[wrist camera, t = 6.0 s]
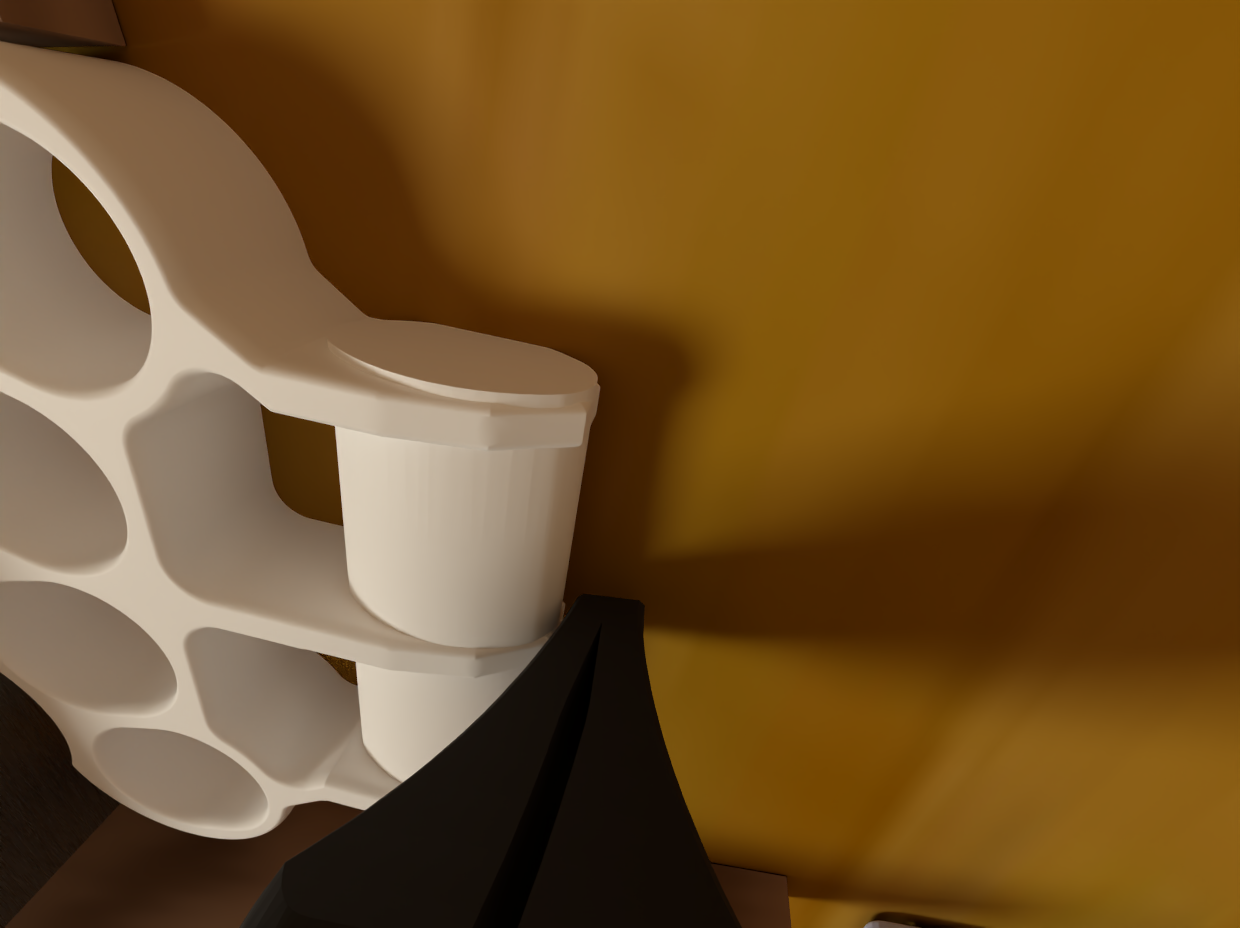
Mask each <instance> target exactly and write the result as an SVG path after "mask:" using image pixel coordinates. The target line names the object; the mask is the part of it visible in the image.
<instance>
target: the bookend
mask: <svg viewBox="0 0 1240 928" xmlns="http://www.w3.org/2000/svg"><path fill="white" fill-rule="evenodd" d="M119 805H120V802H118V801H117V800H115V799H114V798H112V797H110V796H109V795H107V794H106V793H105V792H103V791H102V790H100V789H99V788H98V787H96V786H95V785H94V784H93V783H91V782H90V781H89V780H88V779H87V778H85V777H84V776H83V775H82V774H81V773H80V772H79V771H78V770H77V769H76V768H75V767H74V766H73V765H72V756H71V752H70V748H69V746H68V743H67V741H66V739H65V737H64V736H63V734H62V732H61V731H60V729H59V728H58V726H57V725H56V724H55V722H54V721H53V720H52V719H51V717H50V716H49V715H48V714H47V713H46V712H45V711H44V710H43V708H42V707H41V706H40V705H39V704H38V703H37V702H36V701H35V700H34V699H33V698H31V697H30V696H29V695H28V694H27V693H26V692H25V691H24V690H22V689H21V688H20V687H19V686H18V685H16V684H15V683H14V682H13V681H11V680H10V679H9V678H7V677H6V676H5V675H3V674H2V673H1V672H0V928H4V927H5V926H6V925H7V924H8V923H9V922H10V921H11V920H12V919H13V918H14V917H15V915H16V914H17V913H18V912H19V911H20V910H21V909H22V908H23V907H24V906H25V905H26V904H27V903H28V902H29V901H30V899H31V898H32V897H33V896H34V895H35V894H36V893H37V892H38V891H39V890H40V889H41V888H42V887H43V886H44V885H45V883H46V882H47V881H48V880H49V879H50V878H51V877H52V876H53V875H54V874H55V873H56V872H57V871H58V870H59V869H60V867H61V866H62V865H63V864H64V863H65V862H66V861H67V860H68V859H69V858H70V857H71V856H72V855H73V854H74V853H75V851H76V850H77V849H78V848H79V847H80V846H81V845H82V844H83V843H84V842H85V841H86V840H87V839H88V838H89V837H90V835H91V834H92V833H93V832H94V831H95V830H96V829H97V828H98V827H99V826H100V825H101V824H102V823H103V822H104V821H105V819H106V818H107V817H108V816H109V815H110V814H111V813H112V812H113V811H114V810H115V809H116V808H117V807H118V806H119Z"/></svg>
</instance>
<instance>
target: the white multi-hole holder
mask: <svg viewBox="0 0 1240 928" xmlns="http://www.w3.org/2000/svg"><path fill="white" fill-rule="evenodd" d="M53 155H54V156H55V157H56V158H57V159H58V160H60V161H61V162H62V163H63V164H64V165H65V166H66V167H67V168H69V169H70V170H71V171H72V172H73V173H74V174H75V175H76V176H77V177H78V178H79V179H80V180H81V181H82V182H83V183H84V184H85V186H86V187H87V188H88V189H89V190H90V191H91V192H92V193H93V195H94V196H95V197H96V198H97V200H98V201H99V202H100V203H101V205H102V206H103V207H104V209H105V210H106V211H107V213H108V214H109V215H110V217H111V218H112V220H113V221H114V223H115V224H116V226H117V227H118V229H119V231H120V232H121V234H122V236H123V237H124V239H125V241H126V243H127V245H128V246H129V248H130V250H131V252H132V254H133V257H134V259H135V261H136V263H137V265H138V268H139V270H140V273H141V276H142V278H143V281H144V284H145V288H146V291H147V295H148V299H149V305H150V311H151V315H149V314H147V313H145V312H143V311H141V310H139V309H137V308H136V307H134V306H132V305H131V304H129V303H128V302H126V301H125V300H124V299H122V298H121V297H120V296H118V295H117V294H116V293H115V292H114V291H112V290H111V289H110V288H109V287H108V286H107V285H106V284H105V283H104V282H103V281H102V280H101V279H100V278H99V277H98V276H97V275H96V274H95V272H94V271H93V270H92V269H91V268H90V266H89V265H88V264H87V263H86V261H85V260H84V259H83V257H82V256H81V254H80V253H79V251H78V250H77V248H76V246H75V245H74V243H73V241H72V240H71V238H70V236H69V234H68V232H67V230H66V228H65V226H64V223H63V221H62V219H61V216H60V213H59V210H58V207H57V204H56V200H55V196H54V191H53V185H52V171H51V168H52V156H53ZM597 381H598V376H597V374H596V372H595V371H594V370H593V369H592V368H590V367H589V366H588V365H586V364H585V363H583V362H581V361H579V360H576V359H574V358H572V357H570V356H568V355H566V354H563V353H561V352H558V351H556V350H553V349H550V348H547V347H543V346H538V345H534V344H529V343H524V342H520V341H515V340H510V339H506V338H501V337H496V336H492V335H487V334H483V333H478V332H473V331H469V330H464V329H459V328H455V327H450V326H445V325H441V324H436V323H428V322H416V321H400V320H381V319H376V318H372V317H368V316H367V315H365V314H364V313H362V312H361V311H360V310H359V309H358V308H357V307H356V306H355V305H354V304H353V303H351V302H350V301H349V300H348V299H347V298H346V297H345V296H344V295H343V294H342V293H341V292H340V291H338V290H337V289H336V288H335V287H334V286H333V285H332V284H331V283H330V282H329V281H328V280H327V279H326V278H324V277H323V276H322V275H321V274H320V273H319V272H318V271H317V270H316V269H315V267H314V266H313V264H312V263H311V261H310V258H309V256H308V253H307V250H306V247H305V244H304V241H303V238H302V235H301V233H300V230H299V228H298V226H297V223H296V221H295V219H294V217H293V215H292V213H291V210H290V209H289V207H288V205H287V203H286V201H285V199H284V197H283V196H282V194H281V192H280V190H279V189H278V187H277V185H276V184H275V182H274V181H273V179H272V178H271V176H270V175H269V173H268V172H267V170H266V169H265V168H264V166H263V165H262V164H261V162H260V161H259V160H258V158H257V157H256V156H255V155H254V153H253V152H252V151H251V150H250V148H249V147H248V146H247V145H246V144H245V143H244V141H243V140H242V139H241V138H240V137H239V136H238V135H237V134H236V133H235V132H234V131H233V130H232V129H231V128H230V127H229V126H228V125H227V124H226V123H225V122H224V121H223V120H222V119H221V118H220V117H218V116H217V115H216V114H215V113H214V112H213V111H212V110H210V109H209V108H208V107H207V106H205V105H204V104H203V103H201V102H200V101H199V100H198V99H196V98H195V97H193V96H192V95H190V94H189V93H188V92H186V91H184V90H183V89H181V88H180V87H178V86H176V85H175V84H173V83H171V82H169V81H168V80H166V79H164V78H162V77H160V76H158V75H156V74H153V73H151V72H149V71H146V70H144V69H141V68H139V67H136V66H133V65H129V64H126V63H122V62H118V61H113V60H107V59H101V58H96V57H90V56H84V55H78V54H73V53H67V52H61V51H55V50H50V49H44V48H38V47H32V46H27V45H21V44H15V43H9V42H3V41H0V672H1V673H2V674H3V675H5V676H6V677H7V678H9V679H10V680H11V681H13V682H14V683H15V684H16V685H18V686H19V687H20V688H21V689H22V690H24V691H25V692H26V693H27V694H28V695H29V696H30V697H31V698H33V699H34V700H35V701H36V702H37V703H38V704H39V705H40V706H41V707H42V708H43V710H44V711H45V712H46V713H47V714H48V715H49V716H50V717H51V719H52V720H53V721H54V722H55V724H56V725H57V726H58V728H59V729H60V731H61V732H62V734H63V736H64V737H65V739H66V741H67V743H68V746H69V748H70V752H71V756H72V765H73V766H74V767H75V768H76V769H77V770H78V771H79V772H80V773H81V774H82V775H83V776H84V777H85V778H87V779H88V780H89V781H90V782H91V783H93V784H94V785H95V786H96V787H98V788H99V789H100V790H102V791H103V792H105V793H106V794H107V795H109V796H110V797H112V798H114V799H115V800H117V801H118V802H120V803H122V804H123V805H125V806H127V807H128V808H130V809H132V810H134V811H136V812H138V813H140V814H142V815H144V816H146V817H148V818H150V819H152V820H154V821H157V822H159V823H162V824H164V825H167V826H169V827H172V828H175V829H178V830H181V831H184V832H188V833H192V834H196V835H200V836H205V837H211V838H218V839H247V838H252V837H257V836H260V835H263V834H265V833H267V832H269V831H271V830H273V829H274V828H276V827H277V826H278V825H280V824H281V823H282V822H283V821H284V820H285V819H286V817H287V816H288V815H289V814H290V812H291V811H292V809H293V808H294V806H295V805H298V804H303V803H309V802H314V801H331V802H335V803H339V804H342V805H346V806H350V807H354V808H357V809H361V810H366V809H367V808H369V807H370V806H371V805H373V804H374V803H375V802H377V801H378V800H380V799H381V798H382V797H384V796H385V795H386V794H388V793H389V792H390V791H392V790H393V789H394V788H396V787H397V786H398V785H400V784H401V783H403V782H404V781H405V780H407V779H408V778H409V777H411V776H412V775H413V774H414V773H416V772H417V771H418V770H419V769H421V768H422V767H423V766H424V765H426V764H427V763H428V762H429V761H430V760H432V759H433V758H434V757H435V756H436V755H437V754H439V753H440V752H441V751H442V750H443V749H444V748H446V747H447V746H448V745H449V744H450V743H451V742H453V741H454V740H455V739H456V738H457V737H458V736H459V735H460V734H462V733H463V732H464V731H465V730H466V729H467V728H468V727H469V726H470V725H471V724H472V723H473V722H474V721H475V720H476V719H478V718H479V717H480V716H481V715H482V714H483V713H484V712H485V711H486V710H487V709H488V708H489V707H490V706H491V705H492V704H493V703H494V702H495V701H496V699H497V698H498V697H499V696H500V695H501V694H502V693H503V692H504V691H505V690H506V689H507V688H508V686H509V685H510V684H511V683H512V682H513V681H514V680H515V679H516V678H517V677H518V675H519V674H520V673H521V672H522V671H523V670H524V669H525V668H526V666H527V665H528V664H529V663H530V662H531V660H532V659H533V658H534V657H535V655H536V654H537V653H538V652H539V650H540V649H541V648H542V647H543V646H544V644H545V643H546V642H547V641H548V639H549V638H550V637H551V635H552V634H553V633H554V631H555V630H556V629H557V627H558V626H559V625H560V623H561V622H562V620H563V615H564V609H565V603H564V602H563V596H564V590H565V584H566V577H567V571H568V565H569V558H570V552H571V546H572V539H573V533H574V527H575V521H576V514H577V508H578V502H579V495H580V489H581V483H582V476H583V470H584V464H585V457H586V451H587V445H588V439H589V432H590V426H591V424H592V422H593V420H594V418H595V416H596V412H597V406H598V400H599V393H600V386H599V384H597ZM260 403H261V404H262V405H264V406H265V407H266V408H267V409H268V410H270V411H271V412H275V413H280V414H284V415H288V416H293V417H297V418H302V419H306V420H310V421H315V422H319V423H324V424H328V425H332V426H335V432H336V443H337V455H338V467H339V478H340V489H341V501H342V512H343V523H344V526H340V525H336V524H331V523H327V522H323V521H319V520H315V519H310V518H307V517H304V516H302V515H300V514H298V513H296V512H294V511H293V510H292V509H290V508H289V507H288V506H287V505H286V504H285V503H284V502H283V501H282V500H281V499H280V497H279V496H278V494H277V492H276V491H275V488H274V486H273V482H272V476H271V469H270V463H269V457H268V450H267V444H266V438H265V431H264V425H263V418H262V412H261V406H260ZM316 652H319V653H323V654H327V655H331V656H335V657H339V658H343V659H347V660H351V661H355V662H356V671H357V682H358V686H357V685H354V684H352V683H350V682H348V681H346V680H345V679H343V678H342V677H341V676H340V675H339V674H338V673H337V671H336V670H335V669H334V668H333V667H332V666H331V665H330V664H329V663H328V662H327V661H326V660H325V659H323V658H322V657H321V656H320V655H319V654H317V653H316Z"/></svg>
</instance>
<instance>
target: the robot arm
mask: <svg viewBox="0 0 1240 928" xmlns="http://www.w3.org/2000/svg"><path fill="white" fill-rule="evenodd" d="M644 608H645V606H644V605H643V603H642V602H641V601H639V600H631V599H622V598H614V597H605V596H597V595H589V594H582V595H581V596H579V597H578V598H577V599H576V601H575V603H574V604H573V606H572V607H571V609H570V610H569V612H568V613H567V615H566V616H565V618H564V619H563V620H562V622H561V623H560V625H559V626H558V627H557V629H556V630H555V631H554V633H553V634H552V635H551V637H550V638H549V639H548V641H547V642H546V643H545V644H544V646H543V647H542V648H541V649H540V650H539V652H538V653H537V654H536V655H535V657H534V658H533V659H532V660H531V662H530V663H529V664H528V665H527V666H526V668H525V669H524V670H523V671H522V672H521V673H520V674H519V675H518V677H517V678H516V679H515V680H514V681H513V682H512V683H511V684H510V685H509V686H508V688H507V689H506V690H505V691H504V692H503V693H502V694H501V695H500V696H499V697H498V698H497V699H496V701H495V702H494V703H493V704H492V705H491V706H490V707H489V708H488V709H487V710H486V711H485V712H484V713H483V714H482V715H481V716H480V717H479V718H478V719H476V720H475V721H474V722H473V723H472V724H471V725H470V726H469V727H468V728H467V729H466V730H465V731H464V732H463V733H462V734H460V735H459V736H458V737H457V738H456V739H455V740H454V741H453V742H451V743H450V744H449V745H448V746H447V747H446V748H444V749H443V750H442V751H441V752H440V753H439V754H437V755H436V756H435V757H434V758H433V759H432V760H430V761H429V762H428V763H427V764H426V765H424V766H423V767H422V768H421V769H419V770H418V771H417V772H416V773H414V774H413V775H412V776H411V777H409V778H408V779H407V780H405V781H404V782H403V783H401V784H400V785H398V786H397V787H396V788H394V789H393V790H392V791H390V792H389V793H388V794H386V795H385V796H384V797H382V798H381V799H380V800H378V801H377V802H375V803H374V804H373V805H371V806H370V807H369V808H367V809H366V810H365V811H363V812H362V813H360V814H359V815H357V816H356V817H355V818H353V819H352V820H350V821H349V822H347V823H346V824H344V825H342V826H341V827H339V828H338V829H336V830H335V831H333V832H332V833H330V834H328V835H327V836H325V837H324V838H322V839H321V840H319V841H318V842H316V843H315V844H313V845H311V846H310V847H308V848H307V849H305V850H304V851H302V852H301V853H299V854H297V855H296V856H294V857H293V858H291V859H289V860H288V861H286V862H285V863H284V864H283V866H282V867H281V868H280V870H279V871H278V873H277V874H276V875H275V877H274V878H273V879H272V881H271V882H270V883H269V885H268V886H267V887H266V888H265V890H264V891H263V892H262V894H261V895H260V897H259V898H258V899H257V901H256V902H255V904H254V905H253V906H252V908H251V910H250V911H249V913H248V914H247V916H246V918H245V919H244V921H243V922H242V924H241V926H240V927H239V928H742V927H741V925H740V923H739V921H738V919H737V917H736V915H735V913H734V911H733V909H732V907H731V905H730V903H729V901H728V899H727V897H726V895H725V893H724V891H723V889H722V886H721V884H720V882H719V880H718V878H717V876H716V873H715V871H714V869H713V867H712V865H711V863H710V860H709V858H708V856H707V854H706V852H705V849H704V847H703V844H702V842H701V839H700V837H699V835H698V832H697V830H696V827H695V825H694V822H693V820H692V818H691V815H690V813H689V810H688V808H687V805H686V803H685V800H684V798H683V795H682V792H681V789H680V787H679V784H678V781H677V778H676V776H675V773H674V770H673V767H672V764H671V761H670V758H669V754H668V751H667V748H666V745H665V742H664V738H663V735H662V731H661V728H660V724H659V720H658V716H657V712H656V708H655V704H654V700H653V696H652V691H651V686H650V681H649V675H648V670H647V664H646V658H645V650H644V640H643V628H644ZM864 928H920V927H915V926H909V925H904V924H898V923H893V922H887V921H879V920H877V921H871V922H869V923H867V924H866V925H865V926H864Z"/></svg>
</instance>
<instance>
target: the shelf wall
mask: <svg viewBox="0 0 1240 928" xmlns="http://www.w3.org/2000/svg"><path fill="white" fill-rule="evenodd" d="M0 41H3V42H9V43H15V44H21V45H27V46H32V47H83V46H126V44H125V41H124V38H123V35H122V32H121V29H120V25H119V22H118V19H117V16H116V13H115V10H114V7H113V4H112V0H0ZM363 811H365V810H361V809H357V808H354V807H350V806H346V805H342V804H339V803H335V802H331V801H314V802H309V803H303V804H298V805H295V806H294V808H293V809H292V811H291V812H290V814H289V815H288V816H287V817H286V819H285V820H284V821H283V822H282V823H281V824H280V825H278V826H277V827H276V828H274V829H273V830H271V831H269V832H267V833H265V834H263V835H260V836H257V837H252V838H247V839H218V838H211V837H205V836H200V835H196V834H192V833H188V832H184V831H181V830H178V829H175V828H172V827H169V826H167V825H164V824H162V823H159V822H157V821H154V820H152V819H150V818H148V817H146V816H144V815H142V814H140V813H138V812H136V811H134V810H132V809H130V808H128V807H127V806H125V805H123V804H122V803H120V805H119V806H118V807H117V808H116V809H115V810H114V811H113V812H112V813H111V814H110V815H109V816H108V817H107V818H106V819H105V821H104V822H103V823H102V824H101V825H100V826H99V827H98V828H97V829H96V830H95V831H94V832H93V833H92V834H91V835H90V837H89V838H88V839H87V840H86V841H85V842H84V843H83V844H82V845H81V846H80V847H79V848H78V849H77V850H76V851H75V853H74V854H73V855H72V856H71V857H70V858H69V859H68V860H67V861H66V862H65V863H64V864H63V865H62V866H61V867H60V869H59V870H58V871H57V872H56V873H55V874H54V875H53V876H52V877H51V878H50V879H49V880H48V881H47V882H46V883H45V885H44V886H43V887H42V888H41V889H40V890H39V891H38V892H37V893H36V894H35V895H34V896H33V897H32V898H31V899H30V901H29V902H28V903H27V904H26V905H25V906H24V907H23V908H22V909H21V910H20V911H19V912H18V913H17V914H16V915H15V917H14V918H13V919H12V920H11V921H10V922H9V923H8V924H7V925H6V926H5V927H4V928H239V927H240V926H241V924H242V922H243V921H244V919H245V918H246V916H247V914H248V913H249V911H250V910H251V908H252V906H253V905H254V904H255V902H256V901H257V899H258V898H259V897H260V895H261V894H262V892H263V891H264V890H265V888H266V887H267V886H268V885H269V883H270V882H271V881H272V879H273V878H274V877H275V875H276V874H277V873H278V871H279V870H280V868H281V867H282V866H283V864H284V863H285V862H286V861H288V860H289V859H291V858H293V857H294V856H296V855H297V854H299V853H301V852H302V851H304V850H305V849H307V848H308V847H310V846H311V845H313V844H315V843H316V842H318V841H319V840H321V839H322V838H324V837H325V836H327V835H328V834H330V833H332V832H333V831H335V830H336V829H338V828H339V827H341V826H342V825H344V824H346V823H347V822H349V821H350V820H352V819H353V818H355V817H356V816H357V815H359V814H360V813H362V812H363ZM711 865H712V867H713V869H714V871H715V873H716V876H717V878H718V880H719V882H720V884H721V886H722V889H723V891H724V893H725V895H726V897H727V899H728V901H729V903H730V905H731V907H732V909H733V911H734V913H735V915H736V917H737V919H738V921H739V923H740V925H741V927H742V928H791V919H790V909H789V898H788V888H787V877H785V876H779V875H774V874H768V873H762V872H757V871H751V870H745V869H740V868H734V867H728V866H723V865H717V864H711Z"/></svg>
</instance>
